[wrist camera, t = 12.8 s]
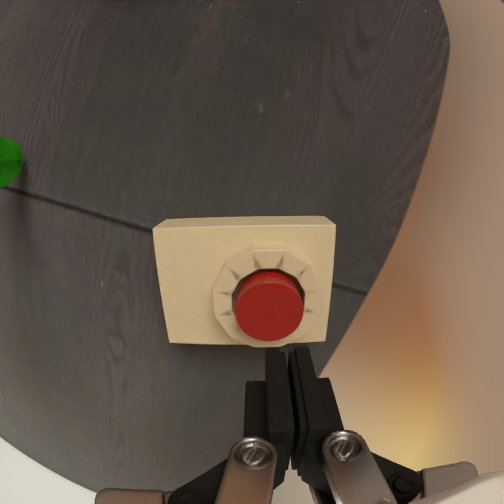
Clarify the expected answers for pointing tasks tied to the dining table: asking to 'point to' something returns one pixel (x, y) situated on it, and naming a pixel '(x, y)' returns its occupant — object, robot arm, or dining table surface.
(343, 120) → the dining table surface
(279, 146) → the dining table surface
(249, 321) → the red button
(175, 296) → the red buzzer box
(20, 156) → the flower
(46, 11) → the dining table surface
